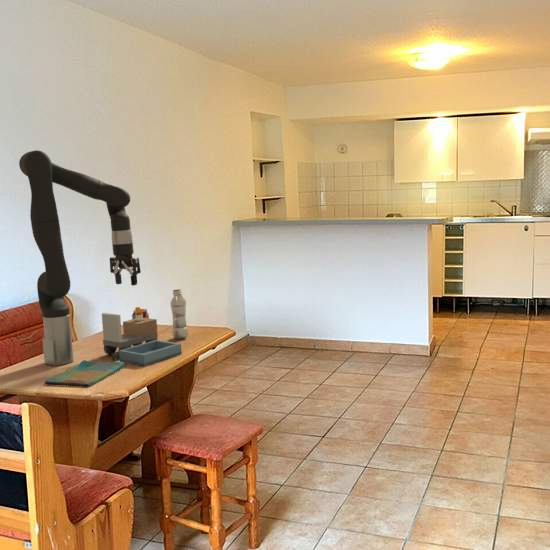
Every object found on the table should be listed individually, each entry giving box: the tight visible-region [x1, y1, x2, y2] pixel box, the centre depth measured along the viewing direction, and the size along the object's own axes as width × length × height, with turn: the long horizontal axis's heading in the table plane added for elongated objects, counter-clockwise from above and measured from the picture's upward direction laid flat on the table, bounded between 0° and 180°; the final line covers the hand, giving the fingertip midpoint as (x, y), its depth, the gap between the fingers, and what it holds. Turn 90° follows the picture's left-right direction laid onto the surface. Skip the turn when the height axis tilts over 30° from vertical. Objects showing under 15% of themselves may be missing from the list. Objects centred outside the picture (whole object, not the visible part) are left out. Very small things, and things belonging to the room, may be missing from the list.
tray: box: [118, 339, 182, 367], centre depth 231 cm, size 18×13×4 cm
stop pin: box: [134, 306, 144, 322], centre depth 245 cm, size 3×3×10 cm
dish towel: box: [43, 359, 126, 388], centre depth 213 cm, size 17×23×2 cm
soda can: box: [131, 308, 150, 320], centre depth 261 cm, size 7×7×12 cm
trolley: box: [101, 312, 159, 361], centre depth 240 cm, size 21×10×16 cm, turn 143°
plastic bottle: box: [169, 288, 189, 340], centre depth 259 cm, size 6×7×20 cm
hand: (126, 284), depth 242 cm, fingers open, 8 cm apart
